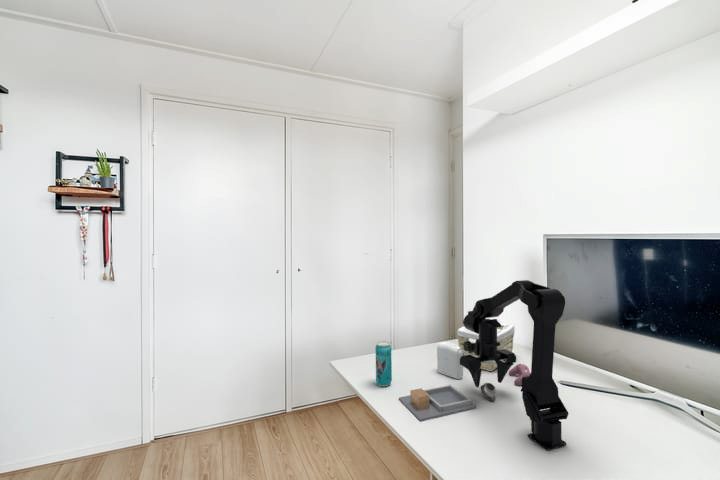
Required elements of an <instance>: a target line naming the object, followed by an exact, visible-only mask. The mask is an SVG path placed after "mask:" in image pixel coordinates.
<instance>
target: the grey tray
mask: <svg viewBox="0 0 720 480" xmlns="http://www.w3.org/2000/svg"><path fill="white" fill-rule="evenodd" d="M398 401H400V402H401V403H402V404H403V405H404V407H405V408H406V409H408V410H409V412H410V413H412V415H413V416H414V417H415V418H417V420H418V421H420V422H424V421H428V420H431V419H437V418H440V417H444V416H449V415H453V414H458V413H461V412H463V413H464V412H467V411H471V410H475V409H477V405H476V404H474V403H473V399H471V398H470V397H469V396H467V395H465V394H464V393H463V392H461V391H460V390H458V389H457V388H455V387H454V386H453V385H451V384H447V385H444V386H443V385H442V386H437V387H432V388H427V389H423V388H421V387H420V388H415V389H410V395H405V396H400V397H398Z"/></svg>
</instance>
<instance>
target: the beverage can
mask: <svg viewBox="0 0 720 480" xmlns="http://www.w3.org/2000/svg"><path fill="white" fill-rule="evenodd" d="M375 343H376V344H375V345H376V346H375V381H376V383H377V385H378V386H379V385H380V386H379V387H381V386H388V385H389V386H390V385H391V384H392V381H393V380H392V379H393V377H392V376H393V375H392V374H393V372H392V371H393V370H392V346H391V342H389V341H385V340H382V341H381V340H380V341H377V342H375ZM389 386H388V387H389Z"/></svg>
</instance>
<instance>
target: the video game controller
mask: <svg viewBox="0 0 720 480" xmlns="http://www.w3.org/2000/svg"><path fill="white" fill-rule="evenodd" d="M530 374H531V370H530V369H529V367H528V365H526V364H525V363H521V362H520V363H517V364H516V365H515V366H514V367H512V368H511V369H509V370H508V375H509V377H513V376H517V377H516V378H515V380H514V381H513V382H514V383H513V384H514V385H515V386H522V378H523V377H526V376H529V375H530Z"/></svg>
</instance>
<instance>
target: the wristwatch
mask: <svg viewBox="0 0 720 480" xmlns="http://www.w3.org/2000/svg"><path fill="white" fill-rule="evenodd" d="M480 392H481V395H482V396H483V397H484V398H485V400H488V401H489V402H493V401H495V400H496V398H497V397H496V395H497V391H496V386H495V385H494V384H492V383H491V382H485V383H483V384H482V385H480ZM487 392H488V393H489V394H490V395H489V394H488V393H487Z"/></svg>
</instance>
